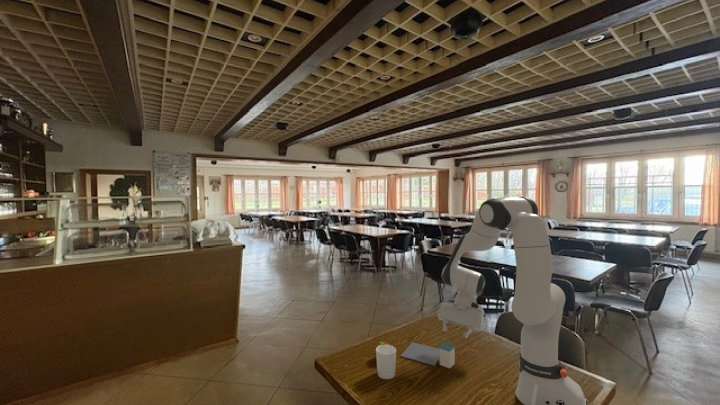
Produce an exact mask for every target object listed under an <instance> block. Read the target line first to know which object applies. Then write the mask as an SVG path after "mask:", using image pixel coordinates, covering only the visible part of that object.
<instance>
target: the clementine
mask: <svg viewBox="0 0 720 405" xmlns="http://www.w3.org/2000/svg"><path fill="white" fill-rule="evenodd" d="M380 345H390V344H389V343H388V342H384V341H379V342H378V343H377V347H378V346H380ZM377 347H376V348H377Z"/></svg>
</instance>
